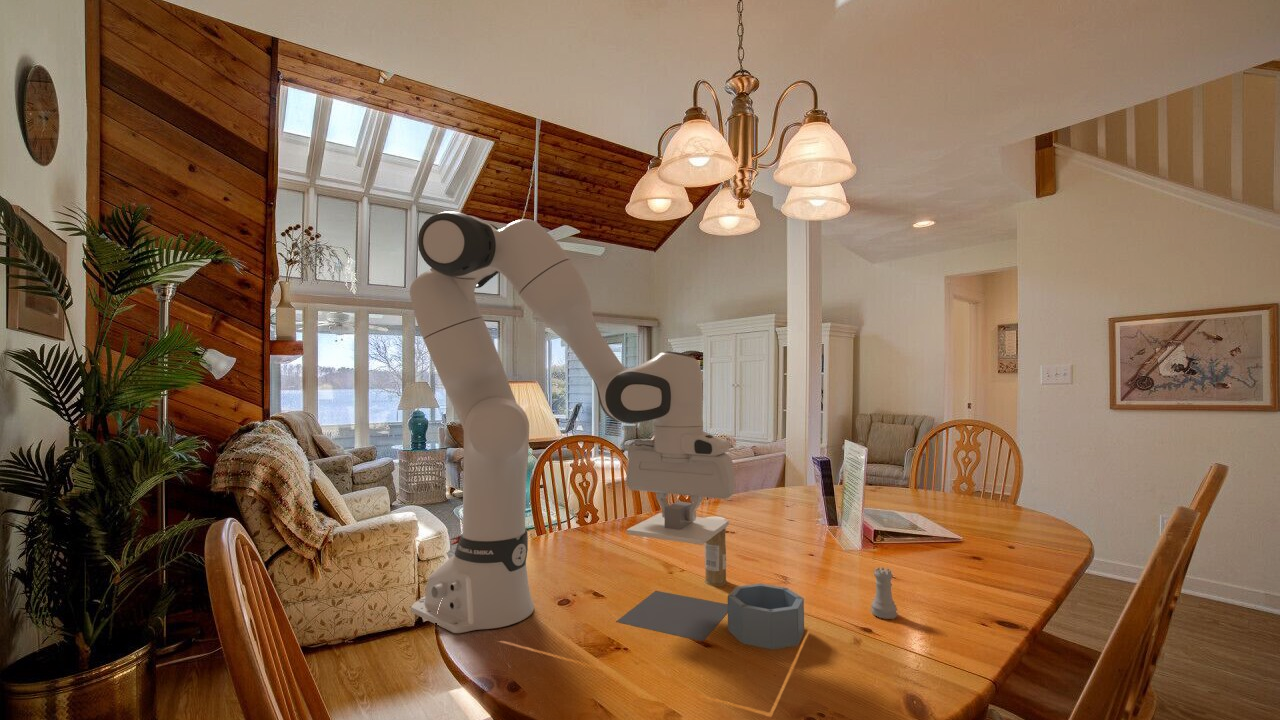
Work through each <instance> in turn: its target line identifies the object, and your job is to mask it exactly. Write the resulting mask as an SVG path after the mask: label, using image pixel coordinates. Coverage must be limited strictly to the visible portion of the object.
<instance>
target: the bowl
mask: <svg viewBox="0 0 1280 720" xmlns="http://www.w3.org/2000/svg"><path fill="white" fill-rule="evenodd" d="M804 600H805V598H804V597H802V596H801V595H799V594H798V593H796V592H794V591H793V590H791V589H789V588H788V587H784V586H783V587H782V586H779V585H773V584H765V583H754V584H746V585H739V586H737V585H736V586H735V588H733V589H732V591H731V592H730V593H729V594H728V595H727V604H728V613H727V631H728V632H729V633H730V634H731V635H732V636H734V637H735V638H736V639H737V640H738V642H740V643H741V644H744V645H749V646H752V647H753V646H754V647H759V648H762V649H766V650H767V649H768V650H771V651H773V650H777V649H783V648H790V647H796V646H799V645H800V642H801V639H802V638H803V637H804V636H803V635H804V634H805V605H804V604H805V601H804Z"/></svg>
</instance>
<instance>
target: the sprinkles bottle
mask: <svg viewBox="0 0 1280 720" xmlns="http://www.w3.org/2000/svg"><path fill="white" fill-rule="evenodd" d="M705 518H709V519H718V520H726V521H727V519H726V518H725V517H722V516H712V515H711V516H706V517H705ZM726 530H727V528H724V529H723V530H721V531H720V532H719V533H717V534H716V535H715V536H713V537H712V538H711V539H709V540H708V541H707V542H705V543H704V567H705V580H704V583H705V584H707V585H709V586H712V587H720V586H721V587H722V586H725V585H727V546H726Z"/></svg>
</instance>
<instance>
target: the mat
mask: <svg viewBox="0 0 1280 720" xmlns="http://www.w3.org/2000/svg"><path fill="white" fill-rule="evenodd" d="M726 615H728V603H723V602H719V601H713V600H708V599H701V598H696V597H692V596H687V595H679V594H677V593H671V592H670V593H669V592H665V591H660V590H655V591H654V592H653V591H652V593H651V594H650V595H648V596H647V597H645V598H644V599H642V600H641V601H640V602H639V603H637V604H636V606H634V607H632V608H630V610H628V611H627V612H626V613H625V614H623V615H622V616H621V617H620V618H619V619H618V620H616V621H615V623H619V624H624V625H628V626H630V627H631V626H632V627H637V628H641V629H645V630H650V631H654V632H657V633H658V632H659V633H662V634H666V635H667V634H668V635H673V636H677V637H681V638H686V639H689V640H694V641H698V642H704V641H705V640H706V639H707V637H708V636H709V635H710V634H711V633H712V632H713V631H714V630H715V628H716V627H717V626H718V625H719V624H720V622H721V621H722V620H723V618H724V617H726Z"/></svg>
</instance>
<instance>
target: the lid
mask: <svg viewBox="0 0 1280 720" xmlns="http://www.w3.org/2000/svg"><path fill="white" fill-rule="evenodd" d="M693 503H694V502H689V501H688V502H686V501H679V500H678V501H676V502H674V503H672V504H670V505H669V504H668V505H669V506H667V507H665V518H663V517H662V512H659V513H657V514H655V515H652V516H651V517H649V518H647V519H645V520H643V521H641V522H639V523H637V524H635V525H633V526H630V527H629V528H627V529H626V533H625V534H626V535H628V536H636V537H644V538H651V539H657V540H665V541H672V542H678V543H679V542H680V543H687V544H693V545H705V542H707V541H708V540H709V539H711V538H712V537H713V536H715V535H716V534H717V533H719V532H720V531H721V530H723V529H724V528H725V529H727V527H728V526H729V525H730V523H729V522H730V521H729V520H727V519H726V520H718V519H709V518H706V517H700V516H696V520H695V521H686V520H685V510H687V509H690V508H691V506H692V504H693Z"/></svg>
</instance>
